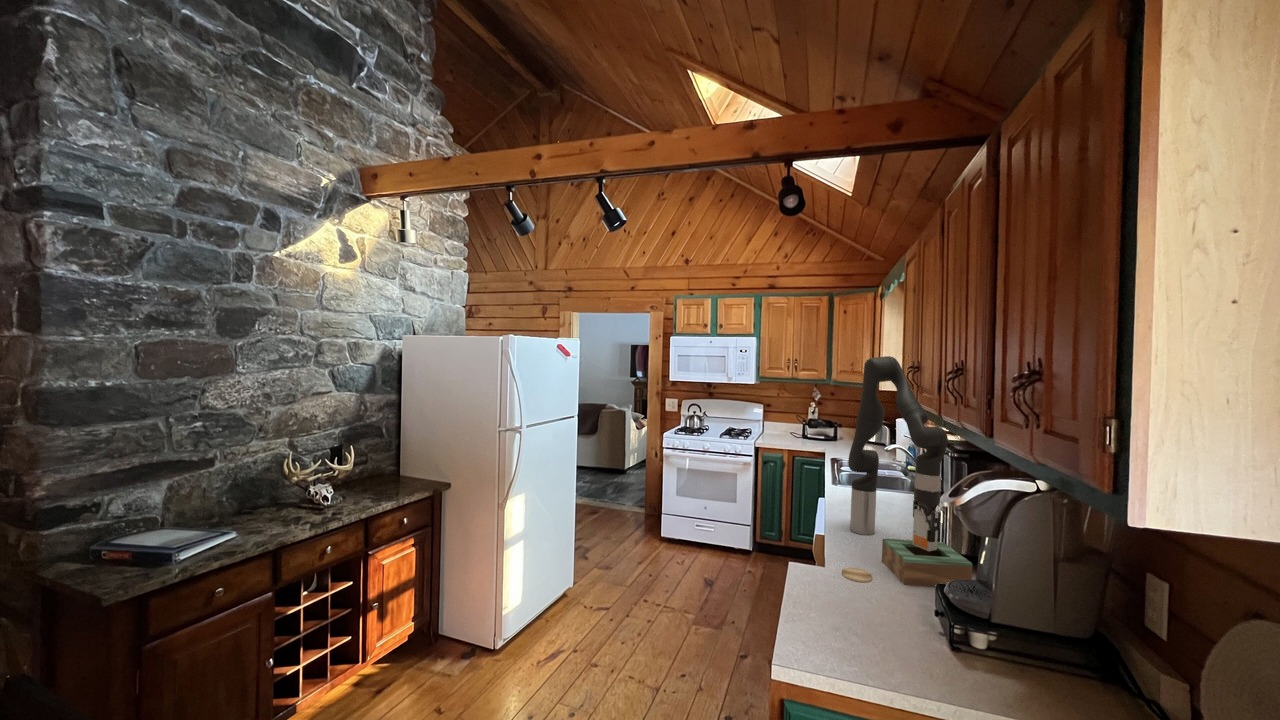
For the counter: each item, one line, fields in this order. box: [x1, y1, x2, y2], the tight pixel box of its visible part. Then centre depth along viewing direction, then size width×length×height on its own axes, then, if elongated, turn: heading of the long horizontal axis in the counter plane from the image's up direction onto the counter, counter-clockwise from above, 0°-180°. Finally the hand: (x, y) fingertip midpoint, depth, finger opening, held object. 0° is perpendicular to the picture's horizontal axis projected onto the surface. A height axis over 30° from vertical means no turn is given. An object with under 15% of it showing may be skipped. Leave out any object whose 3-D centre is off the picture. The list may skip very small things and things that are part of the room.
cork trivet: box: [841, 567, 873, 583], centre depth 164 cm, size 9×9×1 cm
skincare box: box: [912, 509, 939, 551], centre depth 167 cm, size 6×4×12 cm
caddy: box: [881, 538, 973, 588], centre depth 167 cm, size 18×20×8 cm
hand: (925, 537), depth 167 cm, fingers closed on skincare box, 7 cm apart
